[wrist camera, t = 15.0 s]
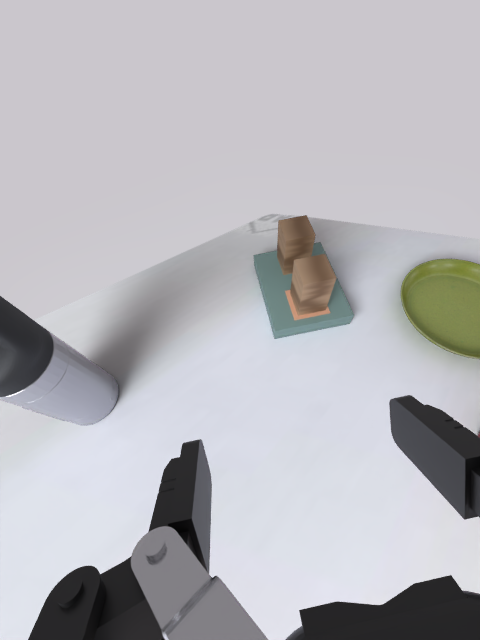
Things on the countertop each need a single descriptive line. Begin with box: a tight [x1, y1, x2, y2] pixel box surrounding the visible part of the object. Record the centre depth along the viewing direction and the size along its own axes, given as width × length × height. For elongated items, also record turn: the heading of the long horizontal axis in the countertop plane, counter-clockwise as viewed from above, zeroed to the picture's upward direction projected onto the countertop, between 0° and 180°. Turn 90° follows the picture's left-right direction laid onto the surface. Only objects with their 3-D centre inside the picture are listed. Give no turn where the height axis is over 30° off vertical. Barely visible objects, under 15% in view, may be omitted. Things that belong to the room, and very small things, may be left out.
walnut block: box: [290, 254, 336, 316], centre depth 47 cm, size 5×5×9 cm
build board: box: [254, 242, 354, 339], centre depth 55 cm, size 14×18×3 cm
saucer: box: [401, 259, 480, 359], centre depth 50 cm, size 21×21×3 cm
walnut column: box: [277, 215, 315, 275], centre depth 52 cm, size 5×5×9 cm
